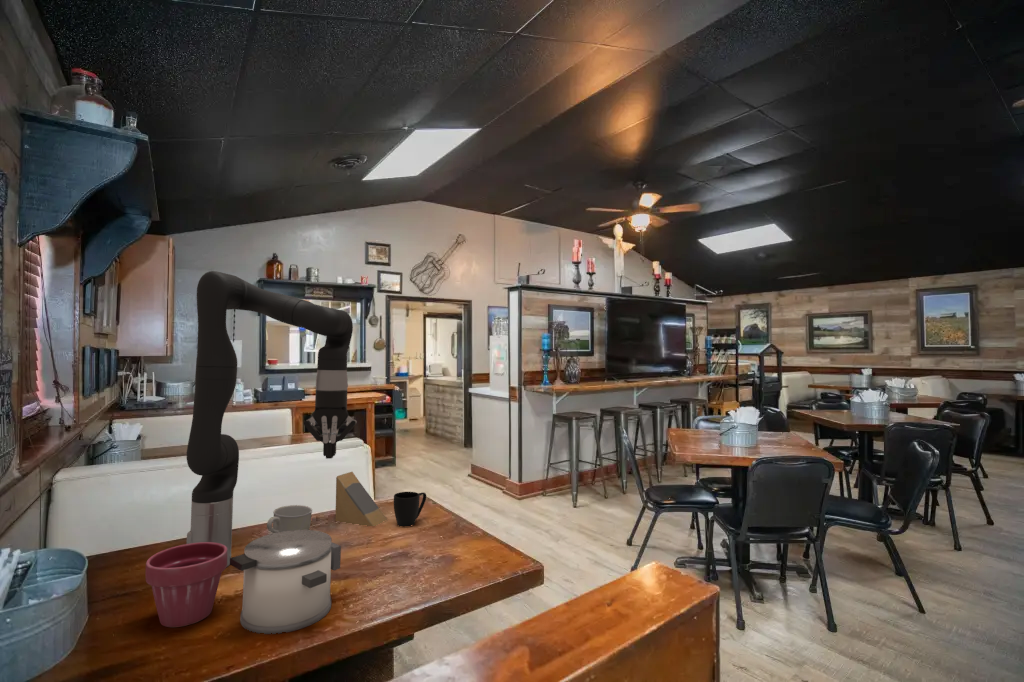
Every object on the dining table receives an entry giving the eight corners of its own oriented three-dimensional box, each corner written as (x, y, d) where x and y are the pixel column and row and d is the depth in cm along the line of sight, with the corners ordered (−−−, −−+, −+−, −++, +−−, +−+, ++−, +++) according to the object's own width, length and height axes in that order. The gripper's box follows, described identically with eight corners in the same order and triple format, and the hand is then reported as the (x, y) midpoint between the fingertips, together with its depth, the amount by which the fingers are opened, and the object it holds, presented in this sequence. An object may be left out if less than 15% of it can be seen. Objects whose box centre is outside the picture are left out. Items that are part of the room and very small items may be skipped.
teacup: (298, 527, 160) (299, 502, 160) (318, 535, 153) (319, 508, 154) (254, 540, 148) (255, 512, 149) (274, 549, 142) (275, 520, 142)
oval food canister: (273, 649, 94) (275, 583, 94) (219, 610, 108) (221, 553, 108) (361, 609, 109) (363, 552, 110) (304, 579, 123) (306, 529, 123)
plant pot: (134, 641, 96) (137, 572, 96) (153, 607, 109) (155, 546, 109) (221, 626, 101) (223, 561, 102) (229, 595, 114) (231, 538, 115)
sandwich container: (374, 528, 161) (375, 480, 162) (334, 522, 166) (335, 476, 167) (389, 520, 169) (390, 474, 170) (350, 514, 174) (352, 470, 175)
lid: (256, 581, 94) (256, 570, 94) (216, 558, 105) (216, 548, 105) (347, 550, 110) (347, 541, 110) (304, 533, 120) (304, 524, 120)
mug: (433, 521, 168) (433, 492, 168) (403, 530, 159) (403, 499, 159) (417, 516, 173) (418, 488, 174) (388, 524, 165) (388, 494, 165)
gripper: (300, 389, 122) (298, 461, 121) (357, 389, 124) (355, 460, 124) (307, 387, 129) (304, 455, 129) (360, 387, 132) (358, 454, 131)
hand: (329, 457), depth 126 cm, fingers closed
